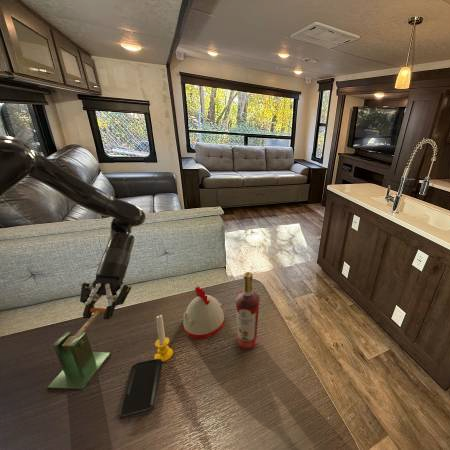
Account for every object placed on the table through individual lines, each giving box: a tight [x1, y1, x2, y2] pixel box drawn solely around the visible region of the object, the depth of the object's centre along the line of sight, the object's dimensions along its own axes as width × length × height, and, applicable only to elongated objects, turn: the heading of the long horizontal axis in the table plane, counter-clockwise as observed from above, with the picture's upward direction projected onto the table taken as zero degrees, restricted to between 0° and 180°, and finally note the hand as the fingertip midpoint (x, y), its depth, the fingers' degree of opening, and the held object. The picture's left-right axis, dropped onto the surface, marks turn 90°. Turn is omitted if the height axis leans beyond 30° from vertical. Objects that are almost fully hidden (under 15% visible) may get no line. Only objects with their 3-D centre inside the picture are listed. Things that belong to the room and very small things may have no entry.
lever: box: [62, 307, 106, 351], centre depth 70 cm, size 13×5×2 cm, turn 2°
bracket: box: [46, 331, 112, 391], centre depth 68 cm, size 11×9×13 cm
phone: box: [118, 358, 163, 419], centre depth 68 cm, size 8×1×15 cm
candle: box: [153, 314, 174, 363], centre depth 74 cm, size 5×5×16 cm
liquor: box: [235, 271, 260, 350], centre depth 79 cm, size 7×7×28 cm
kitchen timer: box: [182, 286, 225, 339], centre depth 87 cm, size 14×14×15 cm
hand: (96, 318), depth 74 cm, fingers closed on lever, 5 cm apart
